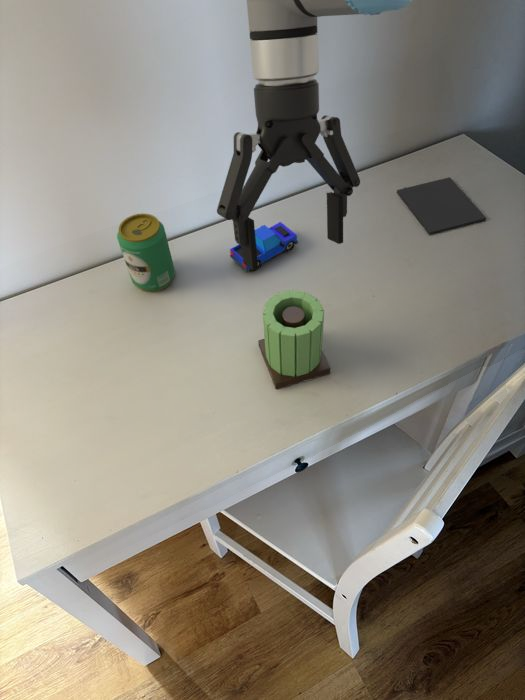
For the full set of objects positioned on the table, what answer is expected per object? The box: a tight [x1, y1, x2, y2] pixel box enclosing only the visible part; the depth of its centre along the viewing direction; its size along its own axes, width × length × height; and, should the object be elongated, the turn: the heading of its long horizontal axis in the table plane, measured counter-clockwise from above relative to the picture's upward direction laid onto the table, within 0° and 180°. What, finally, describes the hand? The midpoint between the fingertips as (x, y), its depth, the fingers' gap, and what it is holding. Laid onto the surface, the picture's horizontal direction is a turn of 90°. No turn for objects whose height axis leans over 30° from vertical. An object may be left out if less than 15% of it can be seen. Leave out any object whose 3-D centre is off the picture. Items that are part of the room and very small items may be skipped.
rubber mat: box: [396, 176, 487, 235], centre depth 106 cm, size 14×12×1 cm
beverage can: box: [116, 213, 176, 293], centre depth 94 cm, size 8×8×12 cm
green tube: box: [262, 289, 325, 377], centre depth 81 cm, size 9×9×10 cm
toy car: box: [229, 221, 299, 273], centre depth 99 cm, size 7×12×5 cm, turn 127°
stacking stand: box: [257, 306, 332, 390], centre depth 81 cm, size 9×9×11 cm
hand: (294, 253), depth 73 cm, fingers open, 13 cm apart
